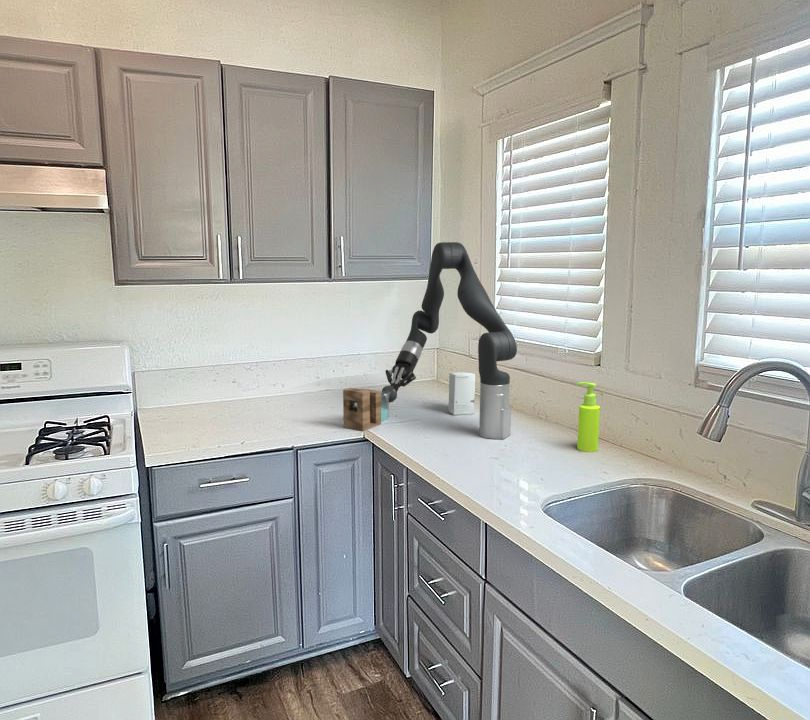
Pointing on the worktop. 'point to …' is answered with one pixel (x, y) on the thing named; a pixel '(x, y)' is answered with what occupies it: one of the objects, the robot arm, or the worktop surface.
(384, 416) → the block
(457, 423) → the worktop surface
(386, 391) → the shaft
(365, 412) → the bearing stand
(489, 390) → the robot arm
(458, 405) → the skincare box
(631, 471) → the worktop surface
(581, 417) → the soap dispenser
